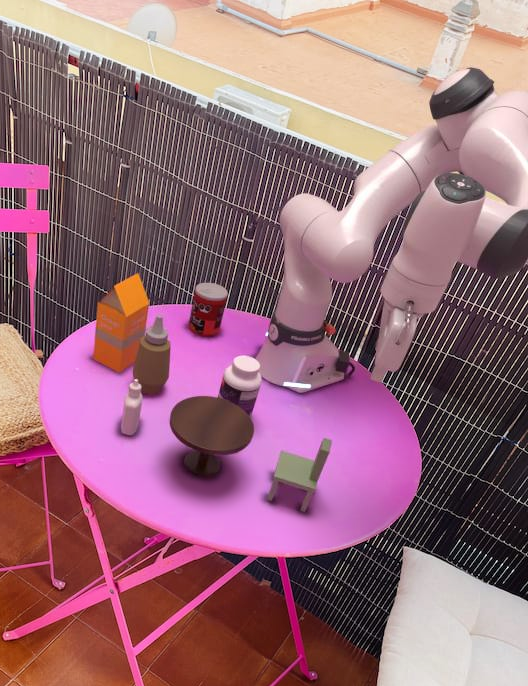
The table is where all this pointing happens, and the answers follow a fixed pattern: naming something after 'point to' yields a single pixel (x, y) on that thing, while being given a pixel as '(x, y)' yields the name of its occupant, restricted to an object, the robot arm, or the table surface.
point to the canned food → (207, 309)
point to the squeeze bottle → (153, 359)
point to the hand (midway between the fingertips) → (377, 364)
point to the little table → (210, 431)
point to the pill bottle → (241, 383)
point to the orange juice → (121, 324)
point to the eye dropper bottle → (132, 409)
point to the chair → (300, 471)
